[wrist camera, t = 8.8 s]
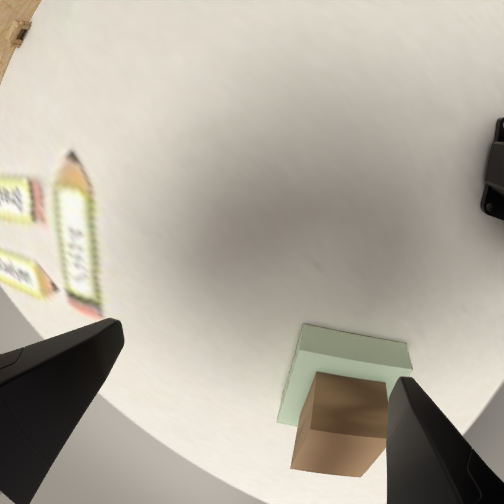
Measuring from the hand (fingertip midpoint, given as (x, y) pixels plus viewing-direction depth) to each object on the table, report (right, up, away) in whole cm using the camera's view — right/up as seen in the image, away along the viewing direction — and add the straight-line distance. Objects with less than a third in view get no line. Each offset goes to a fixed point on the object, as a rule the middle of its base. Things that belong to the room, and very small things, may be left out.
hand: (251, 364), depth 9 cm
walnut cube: (+6, -7, +11) cm, 15 cm away
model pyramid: (-28, +30, +9) cm, 42 cm away
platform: (+7, -6, +14) cm, 17 cm away
